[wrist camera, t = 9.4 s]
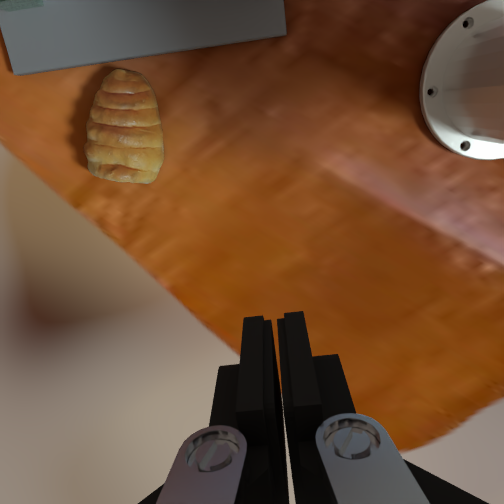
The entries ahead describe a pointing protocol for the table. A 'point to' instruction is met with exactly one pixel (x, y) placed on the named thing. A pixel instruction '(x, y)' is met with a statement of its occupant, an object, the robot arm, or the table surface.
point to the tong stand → (19, 4)
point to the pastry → (124, 130)
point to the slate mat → (130, 29)
